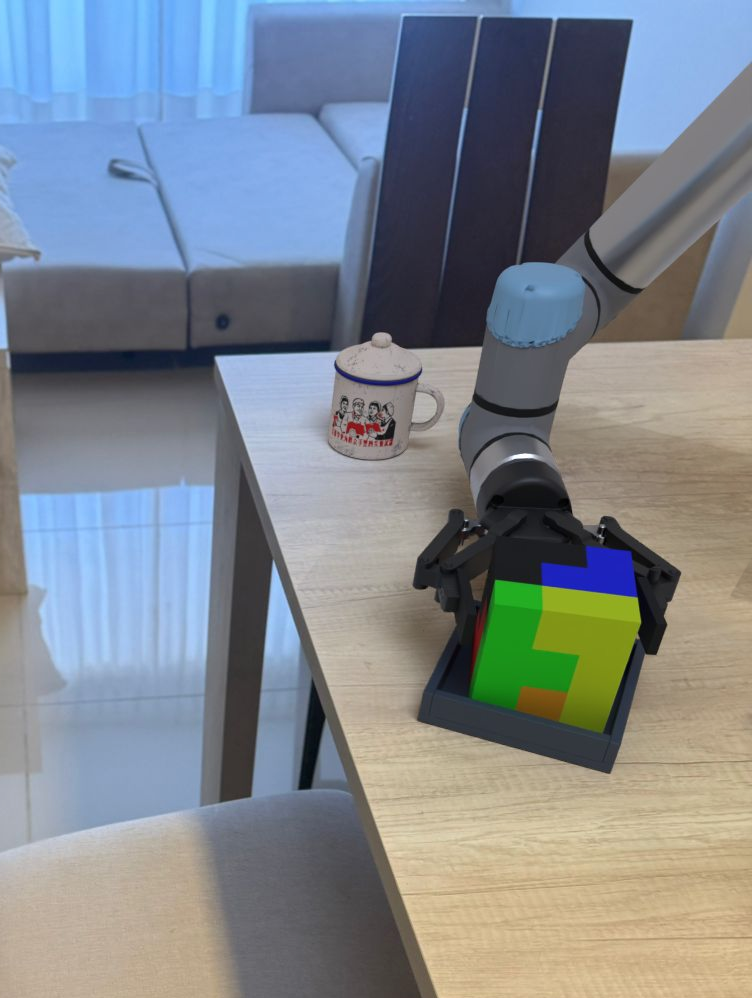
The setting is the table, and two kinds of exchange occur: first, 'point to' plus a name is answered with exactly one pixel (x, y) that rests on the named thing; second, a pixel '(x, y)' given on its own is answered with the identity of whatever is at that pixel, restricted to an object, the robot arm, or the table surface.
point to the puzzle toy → (554, 630)
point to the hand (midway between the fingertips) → (562, 635)
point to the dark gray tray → (517, 729)
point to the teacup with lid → (377, 399)
